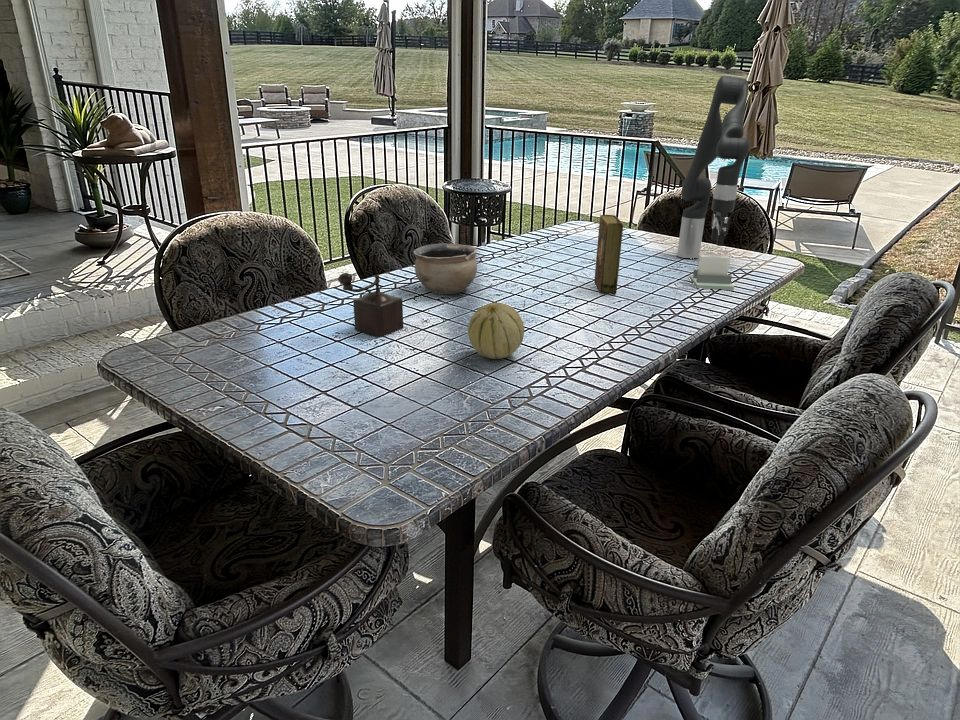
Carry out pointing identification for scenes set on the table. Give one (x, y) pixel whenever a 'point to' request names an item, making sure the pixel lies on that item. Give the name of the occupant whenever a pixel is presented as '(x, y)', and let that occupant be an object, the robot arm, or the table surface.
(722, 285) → the dish rack
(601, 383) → the table surface
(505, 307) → the cantaloupe
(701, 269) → the cream rectangular prism
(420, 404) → the table surface
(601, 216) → the book
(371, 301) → the manual coffee grinder
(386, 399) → the table surface
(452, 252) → the ceramic bowl
